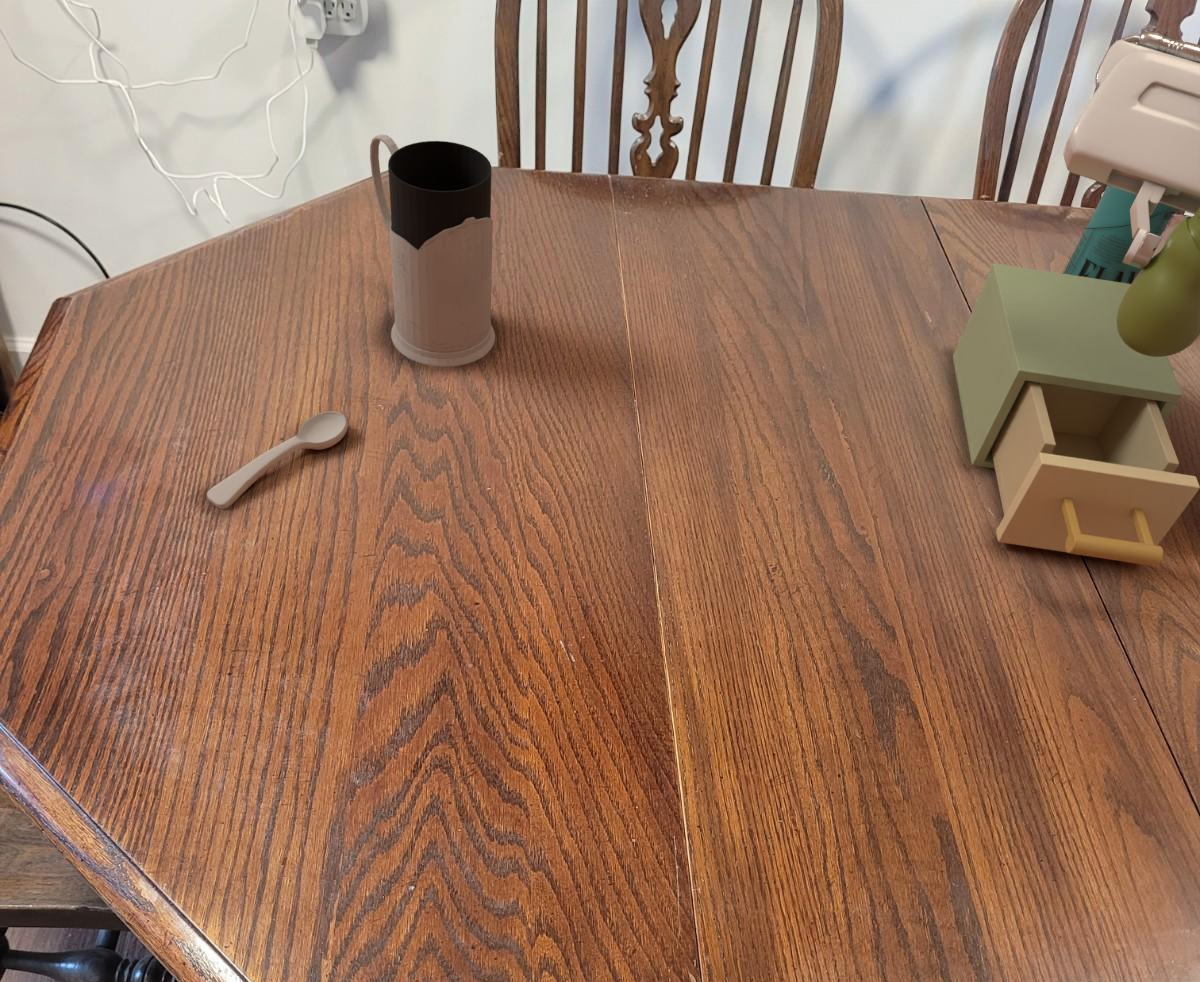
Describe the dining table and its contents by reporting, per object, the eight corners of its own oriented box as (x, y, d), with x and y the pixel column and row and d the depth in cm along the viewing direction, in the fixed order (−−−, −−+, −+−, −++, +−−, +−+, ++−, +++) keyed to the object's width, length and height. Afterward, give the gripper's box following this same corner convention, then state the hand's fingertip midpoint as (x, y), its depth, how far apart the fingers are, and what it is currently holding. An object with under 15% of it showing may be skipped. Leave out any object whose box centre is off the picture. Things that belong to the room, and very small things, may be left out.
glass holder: (427, 382, 84) (421, 208, 72) (337, 294, 90) (319, 121, 79) (516, 348, 88) (524, 177, 76) (424, 265, 94) (418, 97, 83)
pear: (1103, 314, 73) (1180, 180, 66) (1179, 336, 73) (1266, 203, 65) (1101, 358, 70) (1183, 221, 62) (1181, 382, 69) (1273, 246, 61)
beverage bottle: (1045, 316, 99) (1150, 103, 84) (1052, 281, 103) (1153, 73, 88) (1114, 336, 98) (1233, 125, 83) (1118, 301, 102) (1233, 94, 87)
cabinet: (1120, 490, 83) (1183, 395, 76) (970, 467, 83) (1019, 370, 76) (1085, 379, 93) (1138, 284, 86) (951, 358, 93) (993, 262, 86)
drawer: (1159, 615, 74) (1220, 538, 68) (1006, 591, 74) (1054, 513, 68) (1107, 445, 86) (1154, 367, 80) (975, 425, 86) (1013, 346, 80)
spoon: (359, 435, 78) (355, 416, 77) (230, 524, 73) (223, 505, 71) (332, 417, 80) (327, 397, 78) (203, 503, 74) (196, 483, 72)
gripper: (1130, -5, 65) (1025, 205, 66) (1487, 99, 59) (1363, 324, 61) (1112, 48, 71) (1016, 239, 72) (1434, 146, 65) (1322, 350, 67)
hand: (1177, 279), depth 67 cm, fingers closed on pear, 4 cm apart
